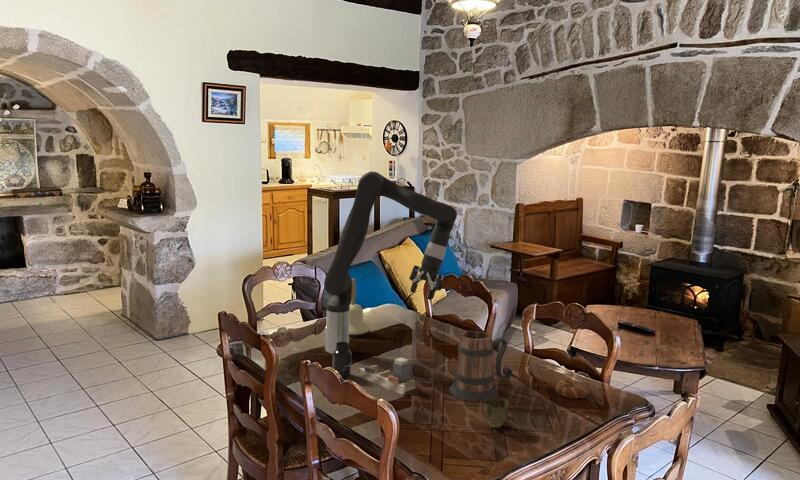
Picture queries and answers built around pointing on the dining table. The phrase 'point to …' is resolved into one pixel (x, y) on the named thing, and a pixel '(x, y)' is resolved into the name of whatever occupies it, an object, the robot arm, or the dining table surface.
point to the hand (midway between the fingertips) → (420, 296)
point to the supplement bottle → (342, 359)
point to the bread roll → (571, 389)
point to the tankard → (478, 366)
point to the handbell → (356, 315)
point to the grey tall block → (401, 370)
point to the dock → (386, 379)
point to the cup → (496, 411)
